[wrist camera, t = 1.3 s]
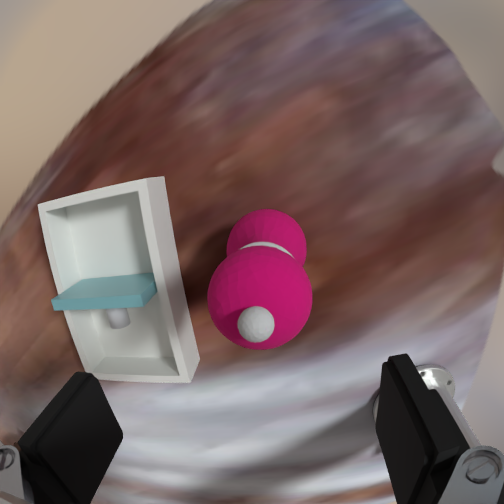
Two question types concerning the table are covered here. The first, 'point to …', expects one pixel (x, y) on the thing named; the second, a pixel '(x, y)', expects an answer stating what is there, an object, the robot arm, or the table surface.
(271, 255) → the pepper mill
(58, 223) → the white tray
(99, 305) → the pusher
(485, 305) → the table surface
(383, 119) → the table surface
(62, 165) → the table surface
